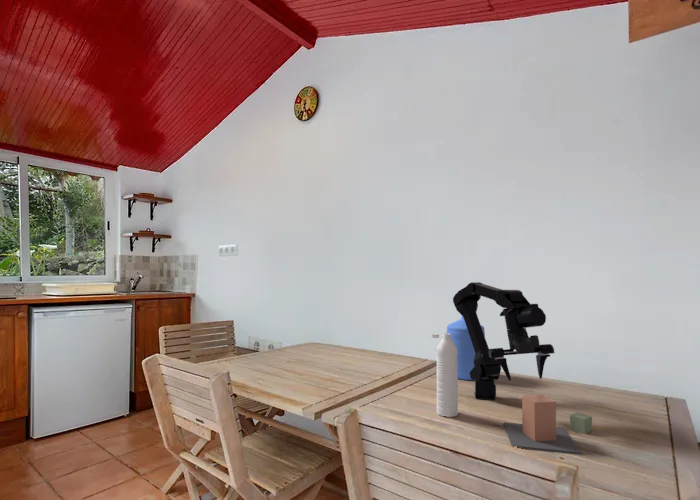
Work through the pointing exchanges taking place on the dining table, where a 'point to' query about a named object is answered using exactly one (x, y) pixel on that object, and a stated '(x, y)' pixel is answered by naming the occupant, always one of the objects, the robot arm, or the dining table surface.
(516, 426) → the charcoal mat
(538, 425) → the pink upright block
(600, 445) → the dining table surface
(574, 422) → the olive block
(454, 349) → the water bottle
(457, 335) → the water jug
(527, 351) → the robot arm
